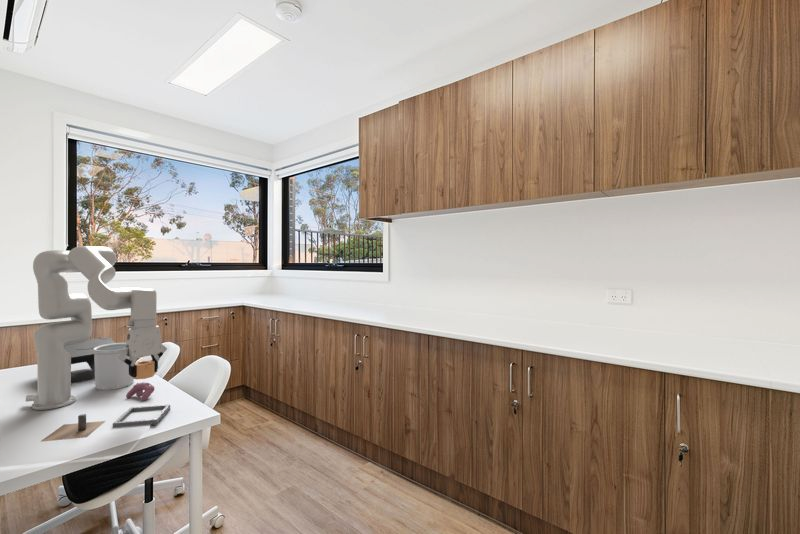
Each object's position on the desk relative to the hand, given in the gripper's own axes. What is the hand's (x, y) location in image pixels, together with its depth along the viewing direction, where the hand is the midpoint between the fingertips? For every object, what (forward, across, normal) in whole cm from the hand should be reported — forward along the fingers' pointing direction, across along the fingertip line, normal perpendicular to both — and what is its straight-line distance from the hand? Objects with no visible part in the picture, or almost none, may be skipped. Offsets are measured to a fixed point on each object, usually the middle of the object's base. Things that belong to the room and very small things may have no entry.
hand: (143, 373), depth 132 cm
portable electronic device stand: (+16, +12, +78) cm, 80 cm away
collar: (+1, 0, 0) cm, 1 cm away
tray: (+16, 0, 0) cm, 16 cm away
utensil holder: (+16, +12, +49) cm, 53 cm away
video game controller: (+17, +10, +23) cm, 30 cm away
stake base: (+16, -17, +7) cm, 25 cm away
